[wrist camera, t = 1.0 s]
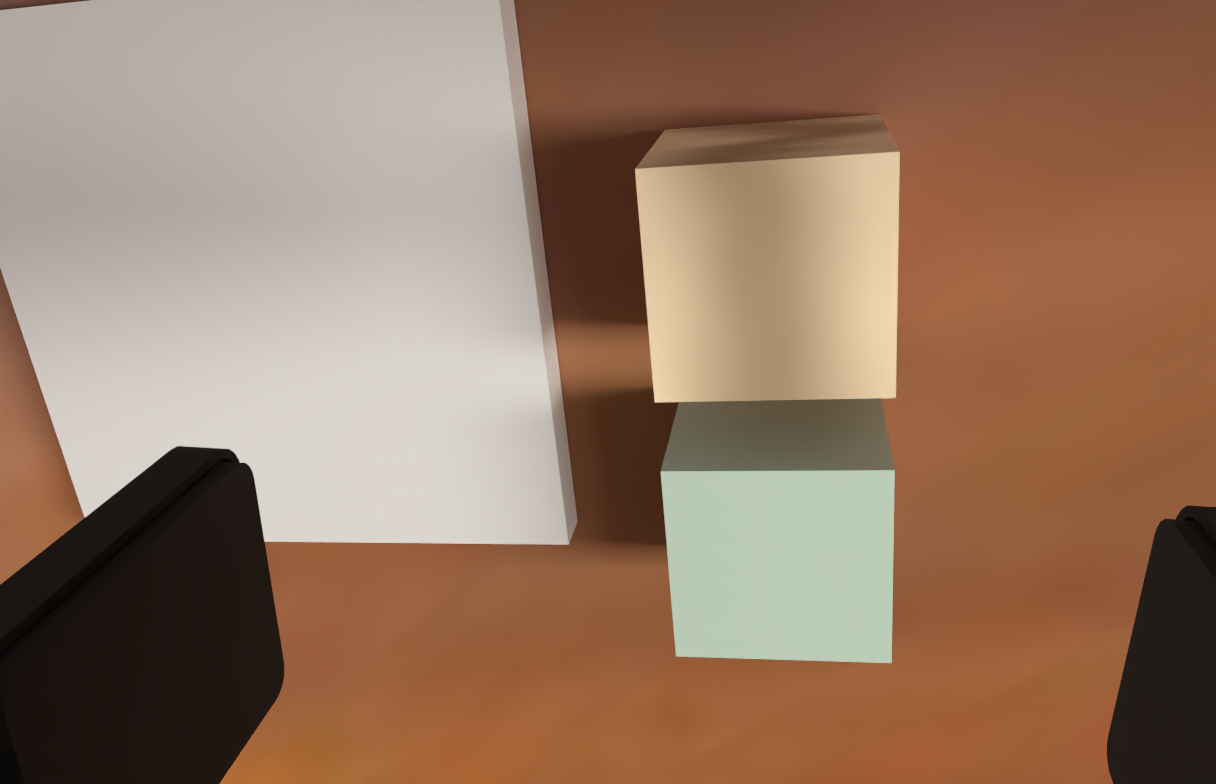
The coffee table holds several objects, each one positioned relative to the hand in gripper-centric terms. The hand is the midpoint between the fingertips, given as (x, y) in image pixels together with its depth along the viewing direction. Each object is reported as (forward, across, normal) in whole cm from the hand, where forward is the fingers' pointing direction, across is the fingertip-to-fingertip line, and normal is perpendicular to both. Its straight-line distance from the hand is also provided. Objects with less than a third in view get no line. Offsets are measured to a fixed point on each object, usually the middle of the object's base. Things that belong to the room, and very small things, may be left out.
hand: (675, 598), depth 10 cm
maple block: (+21, -1, +1) cm, 21 cm away
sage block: (+21, -2, +9) cm, 23 cm away
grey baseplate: (+21, +15, +3) cm, 26 cm away
